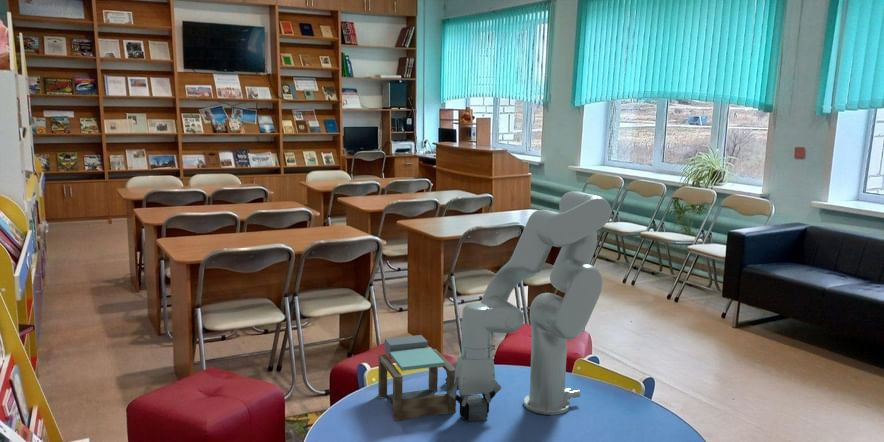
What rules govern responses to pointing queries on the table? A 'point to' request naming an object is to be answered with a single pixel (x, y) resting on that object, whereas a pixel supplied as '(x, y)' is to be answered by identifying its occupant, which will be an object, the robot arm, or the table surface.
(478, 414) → the block
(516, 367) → the table surface
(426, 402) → the frame
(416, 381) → the table surface
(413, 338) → the grey and green slab
